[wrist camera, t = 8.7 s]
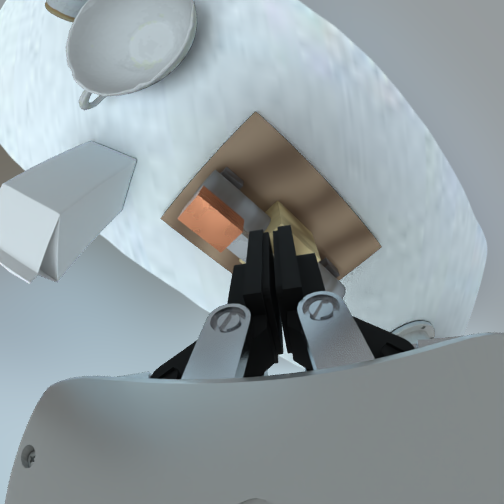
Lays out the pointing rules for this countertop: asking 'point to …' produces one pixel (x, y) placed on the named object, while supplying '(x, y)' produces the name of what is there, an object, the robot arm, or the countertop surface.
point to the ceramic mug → (65, 8)
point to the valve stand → (278, 202)
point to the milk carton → (60, 209)
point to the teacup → (127, 44)
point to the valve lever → (216, 223)
